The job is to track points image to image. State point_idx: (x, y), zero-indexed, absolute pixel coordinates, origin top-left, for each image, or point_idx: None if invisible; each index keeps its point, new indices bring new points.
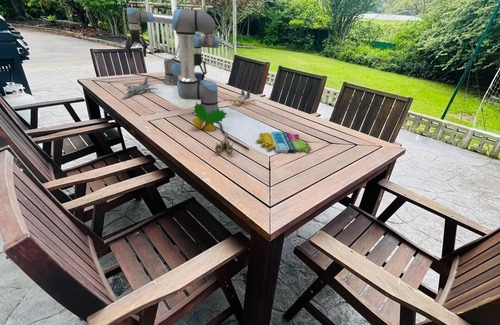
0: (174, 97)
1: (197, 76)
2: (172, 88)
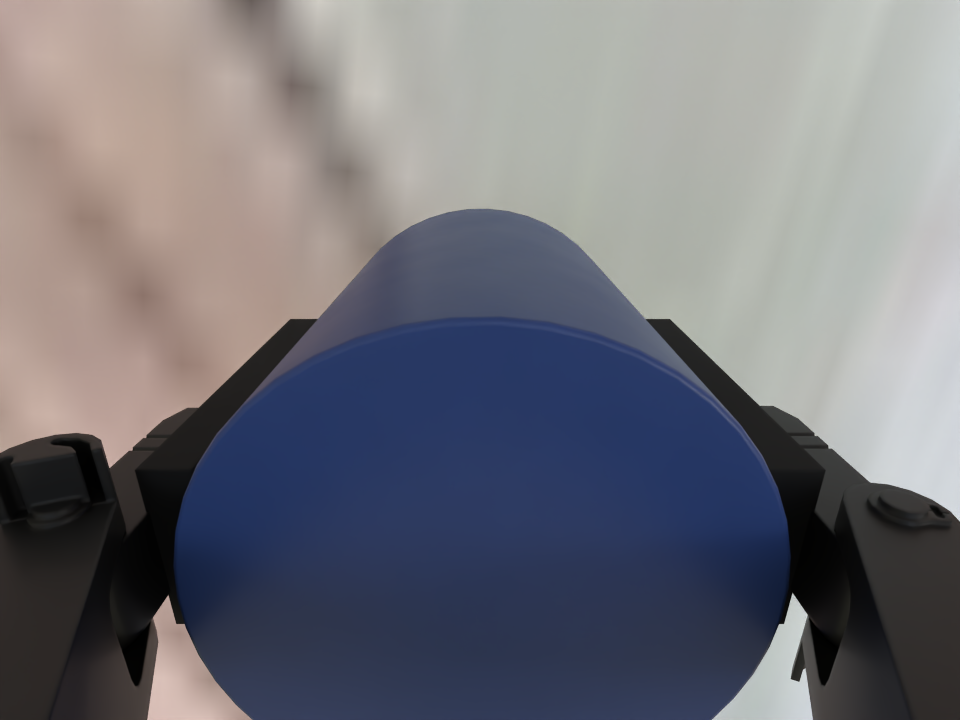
0: (931, 246)
1: (530, 276)
2: (779, 717)
